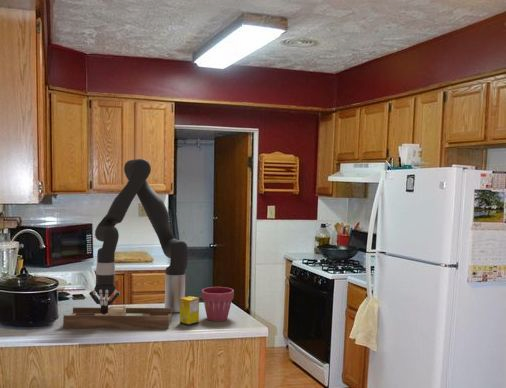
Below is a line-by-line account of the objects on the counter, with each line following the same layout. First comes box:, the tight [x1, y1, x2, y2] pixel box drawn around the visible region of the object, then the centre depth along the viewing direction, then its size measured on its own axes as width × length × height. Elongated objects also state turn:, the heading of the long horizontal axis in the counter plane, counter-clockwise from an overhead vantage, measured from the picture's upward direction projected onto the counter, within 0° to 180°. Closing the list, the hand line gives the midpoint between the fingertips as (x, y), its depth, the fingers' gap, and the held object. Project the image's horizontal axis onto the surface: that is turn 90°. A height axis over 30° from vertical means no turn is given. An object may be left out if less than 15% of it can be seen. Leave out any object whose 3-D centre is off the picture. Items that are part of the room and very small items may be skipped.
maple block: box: [108, 304, 127, 316], centre depth 205 cm, size 6×6×4 cm
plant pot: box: [201, 286, 235, 322], centre depth 218 cm, size 14×14×13 cm
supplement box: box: [179, 295, 200, 327], centre depth 209 cm, size 6×6×11 cm
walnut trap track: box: [62, 306, 173, 330], centre depth 205 cm, size 14×42×5 cm, turn 94°
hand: (104, 313), depth 205 cm, fingers closed
